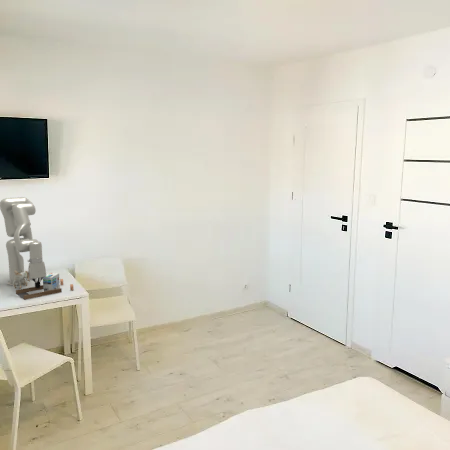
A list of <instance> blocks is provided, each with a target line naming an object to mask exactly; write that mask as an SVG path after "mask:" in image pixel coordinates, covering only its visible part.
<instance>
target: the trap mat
mask: <svg viewBox="0 0 450 450" xmlns="http://www.w3.org/2000/svg"><path fill="white" fill-rule="evenodd" d="M29 294H30V293H29V292H25V293H20V294H16V296H18V297H20V298H21V299H22V300H24V295H29Z"/></svg>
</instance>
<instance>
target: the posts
mask: <svg viewBox="0 0 450 450" xmlns="http://www.w3.org/2000/svg"><path fill="white" fill-rule="evenodd" d="M59 282H60V286H64V278H59ZM69 286H70V287H69V289H70V290H69V291H70V292H71V291H74V283H70V285H69Z"/></svg>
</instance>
